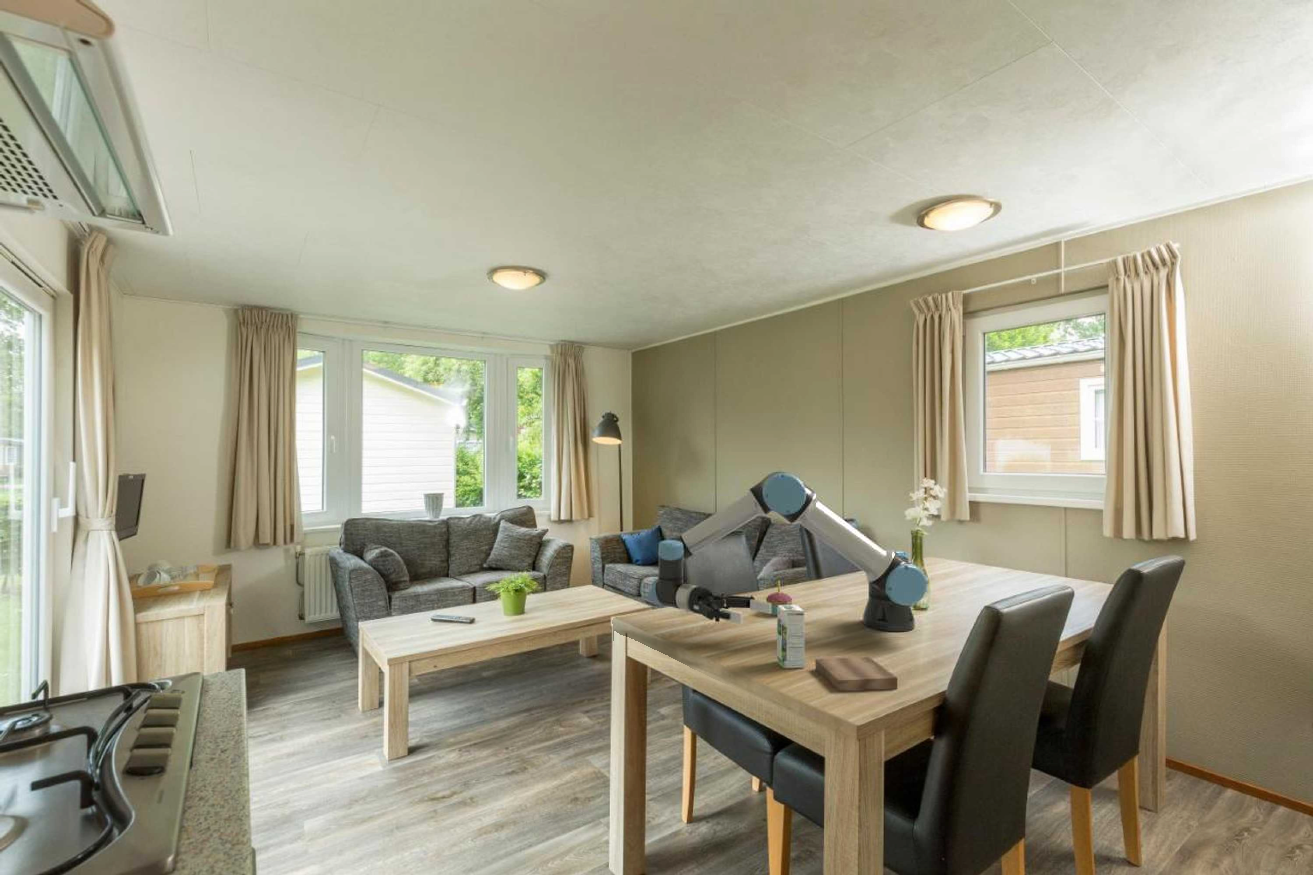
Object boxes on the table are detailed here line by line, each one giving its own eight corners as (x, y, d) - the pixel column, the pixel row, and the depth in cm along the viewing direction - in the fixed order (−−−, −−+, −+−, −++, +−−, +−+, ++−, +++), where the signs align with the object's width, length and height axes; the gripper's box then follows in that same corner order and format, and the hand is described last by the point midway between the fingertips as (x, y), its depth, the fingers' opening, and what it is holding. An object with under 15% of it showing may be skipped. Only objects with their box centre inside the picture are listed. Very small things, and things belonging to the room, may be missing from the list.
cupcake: (792, 618, 196) (792, 581, 196) (765, 616, 198) (765, 580, 198) (791, 611, 204) (791, 575, 205) (766, 610, 206) (766, 574, 206)
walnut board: (868, 666, 152) (868, 656, 152) (897, 688, 138) (897, 677, 138) (815, 669, 151) (815, 659, 151) (838, 691, 137) (838, 680, 137)
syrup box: (776, 660, 157) (775, 604, 157) (798, 660, 157) (798, 604, 157) (782, 668, 151) (782, 610, 151) (805, 668, 151) (805, 610, 152)
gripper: (721, 604, 185) (781, 618, 170) (666, 620, 166) (728, 637, 152) (721, 579, 185) (781, 591, 170) (666, 593, 167) (728, 607, 152)
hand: (756, 613), depth 161 cm, fingers open, 13 cm apart
